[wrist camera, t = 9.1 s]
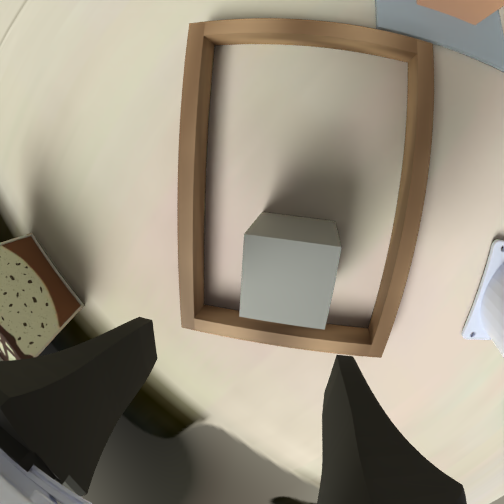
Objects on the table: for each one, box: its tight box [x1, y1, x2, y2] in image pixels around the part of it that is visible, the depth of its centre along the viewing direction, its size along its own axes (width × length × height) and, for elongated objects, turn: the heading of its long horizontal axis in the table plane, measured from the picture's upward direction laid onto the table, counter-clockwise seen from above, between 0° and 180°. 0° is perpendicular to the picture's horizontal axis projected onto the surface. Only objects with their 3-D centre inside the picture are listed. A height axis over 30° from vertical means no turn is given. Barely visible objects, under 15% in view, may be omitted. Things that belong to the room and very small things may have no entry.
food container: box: [0, 233, 85, 361], centre depth 21 cm, size 12×6×10 cm, turn 42°
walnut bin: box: [178, 18, 434, 358], centre depth 16 cm, size 14×20×2 cm
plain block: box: [239, 212, 341, 330], centre depth 17 cm, size 4×4×5 cm
